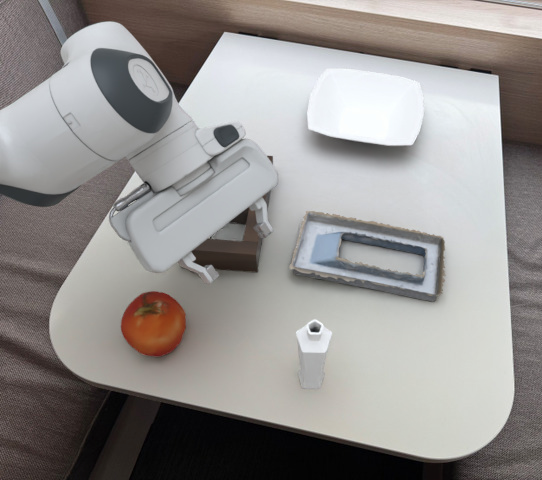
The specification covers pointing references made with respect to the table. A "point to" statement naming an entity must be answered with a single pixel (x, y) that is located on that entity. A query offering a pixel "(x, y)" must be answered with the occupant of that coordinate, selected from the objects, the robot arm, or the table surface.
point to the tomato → (154, 323)
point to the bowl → (366, 107)
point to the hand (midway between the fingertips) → (241, 256)
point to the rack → (234, 246)
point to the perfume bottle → (312, 353)
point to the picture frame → (328, 266)
